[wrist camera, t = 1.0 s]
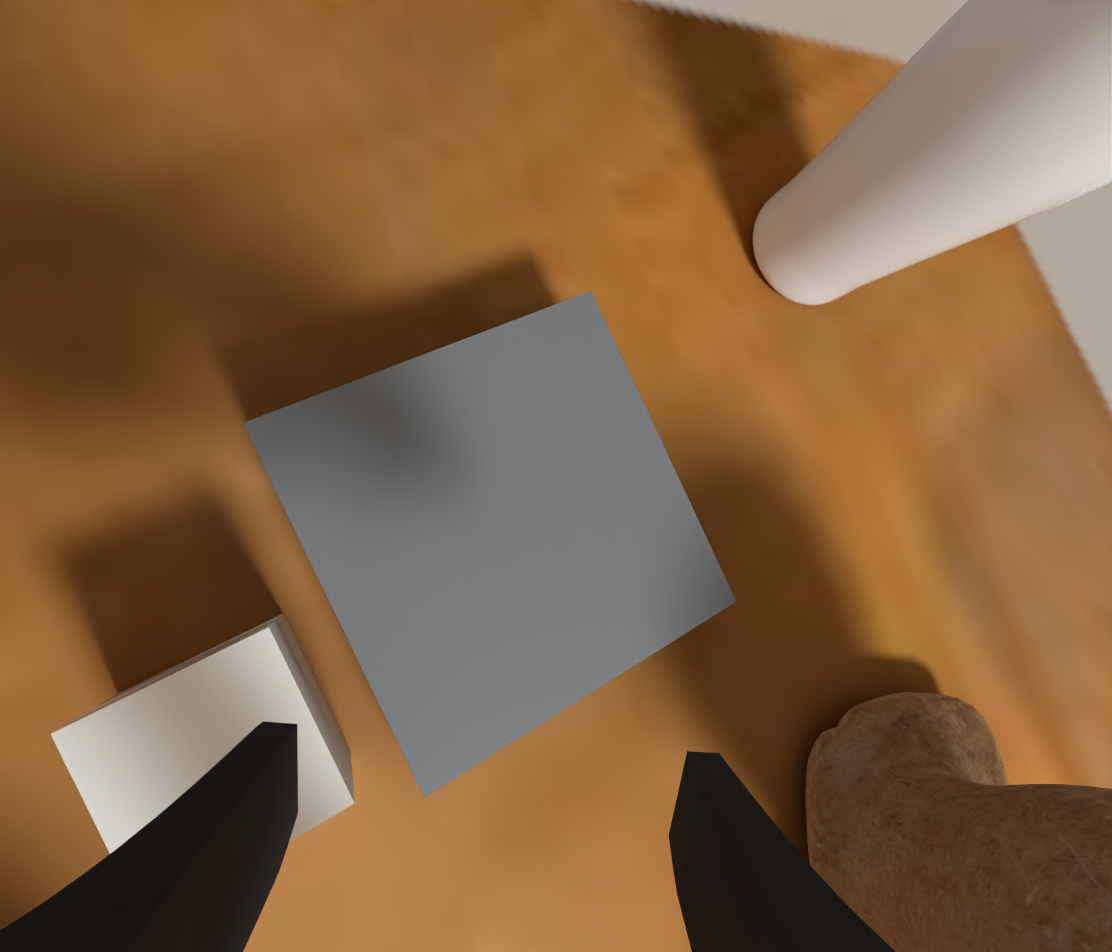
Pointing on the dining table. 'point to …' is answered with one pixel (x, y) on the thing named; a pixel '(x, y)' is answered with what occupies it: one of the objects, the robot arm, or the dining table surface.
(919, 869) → the stone cup
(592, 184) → the dining table surface
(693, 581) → the base
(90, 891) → the robot arm
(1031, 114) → the drinking glass
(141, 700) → the cube
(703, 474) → the dining table surface
